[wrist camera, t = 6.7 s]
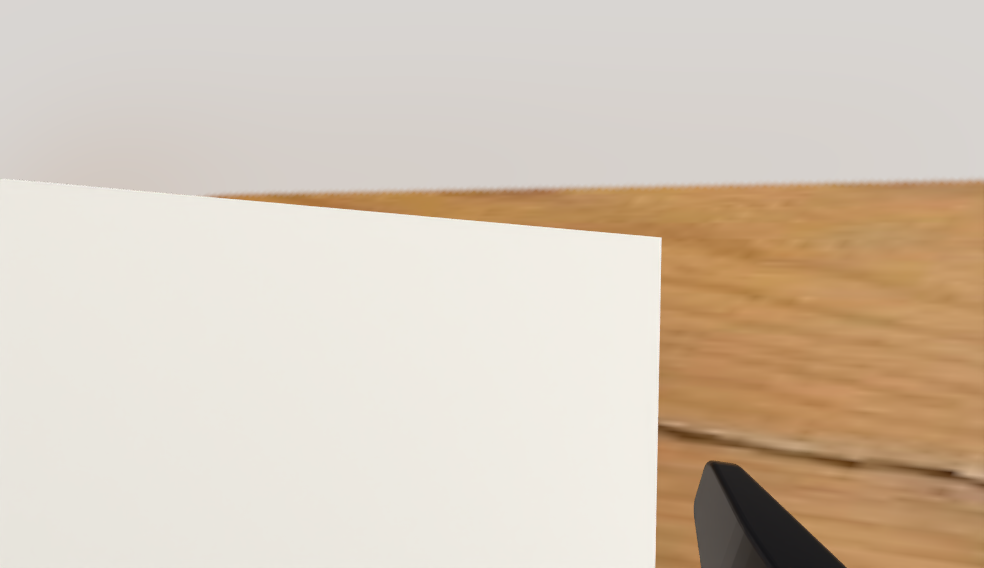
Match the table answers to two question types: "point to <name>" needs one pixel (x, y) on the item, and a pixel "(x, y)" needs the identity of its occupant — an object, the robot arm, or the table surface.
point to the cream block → (320, 387)
